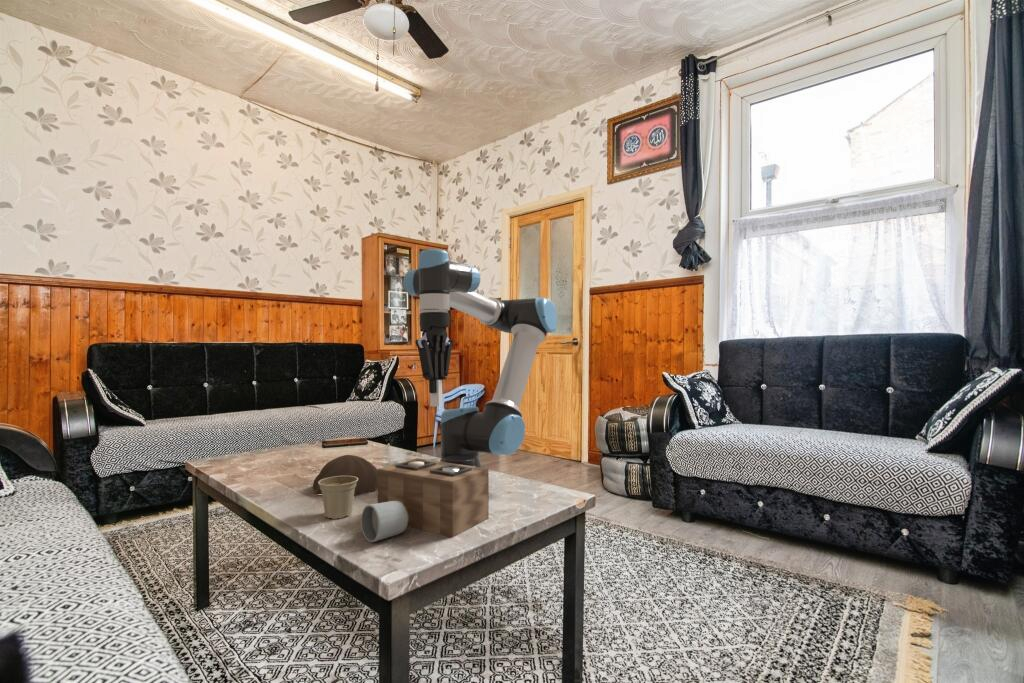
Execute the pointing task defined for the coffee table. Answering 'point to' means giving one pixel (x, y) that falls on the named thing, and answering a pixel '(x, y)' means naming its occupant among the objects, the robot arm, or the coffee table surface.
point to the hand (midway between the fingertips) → (436, 405)
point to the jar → (460, 460)
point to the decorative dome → (350, 473)
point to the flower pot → (338, 495)
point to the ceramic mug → (384, 520)
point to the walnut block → (437, 494)
